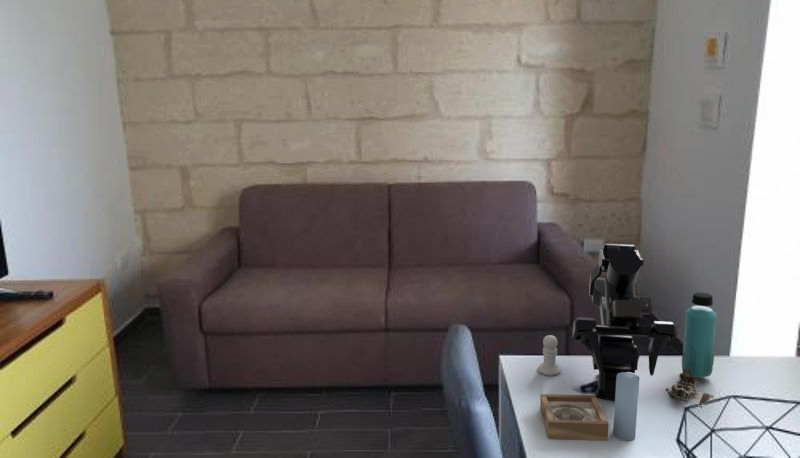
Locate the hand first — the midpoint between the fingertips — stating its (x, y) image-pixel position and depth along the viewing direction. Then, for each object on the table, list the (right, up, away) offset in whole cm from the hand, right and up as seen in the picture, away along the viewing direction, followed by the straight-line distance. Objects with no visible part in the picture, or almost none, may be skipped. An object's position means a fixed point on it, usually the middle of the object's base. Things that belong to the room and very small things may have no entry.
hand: (626, 373), depth 114 cm
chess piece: (-8, -6, +28) cm, 30 cm away
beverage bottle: (+25, -7, +24) cm, 35 cm away
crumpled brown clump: (+18, -9, +15) cm, 25 cm away
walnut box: (-9, -11, +5) cm, 15 cm away
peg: (0, -12, +1) cm, 12 cm away
